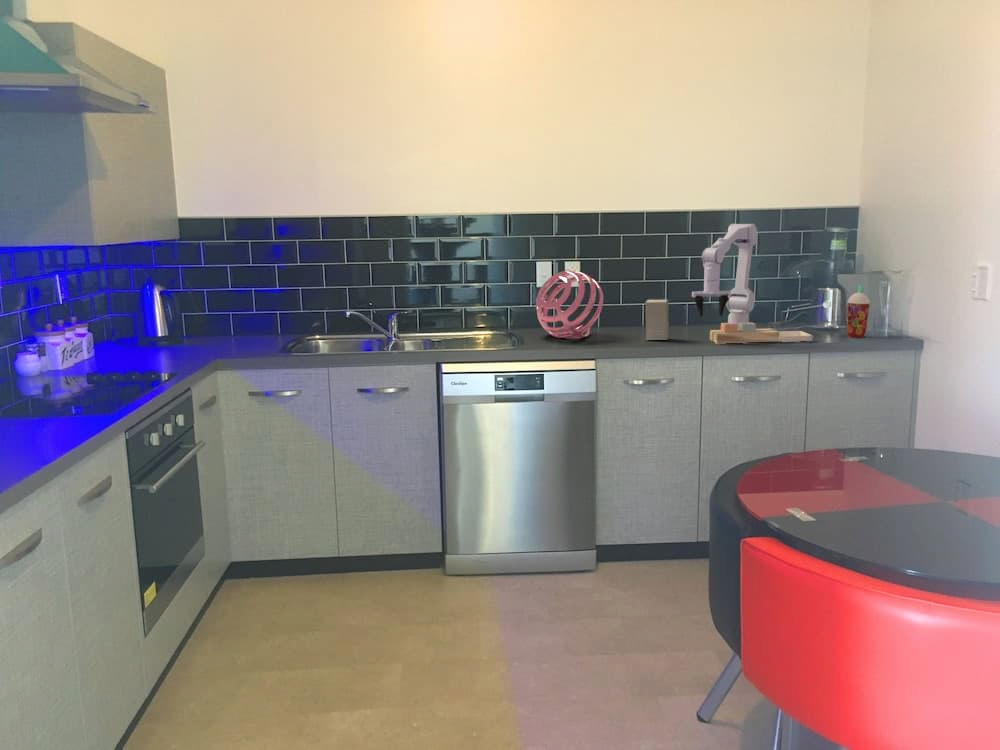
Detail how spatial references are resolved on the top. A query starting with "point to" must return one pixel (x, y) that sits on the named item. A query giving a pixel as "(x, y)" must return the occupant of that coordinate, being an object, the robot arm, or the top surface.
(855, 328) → the smoothie
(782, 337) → the tray
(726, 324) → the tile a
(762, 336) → the board
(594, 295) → the spiral basket
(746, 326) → the tile
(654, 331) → the skincare box
